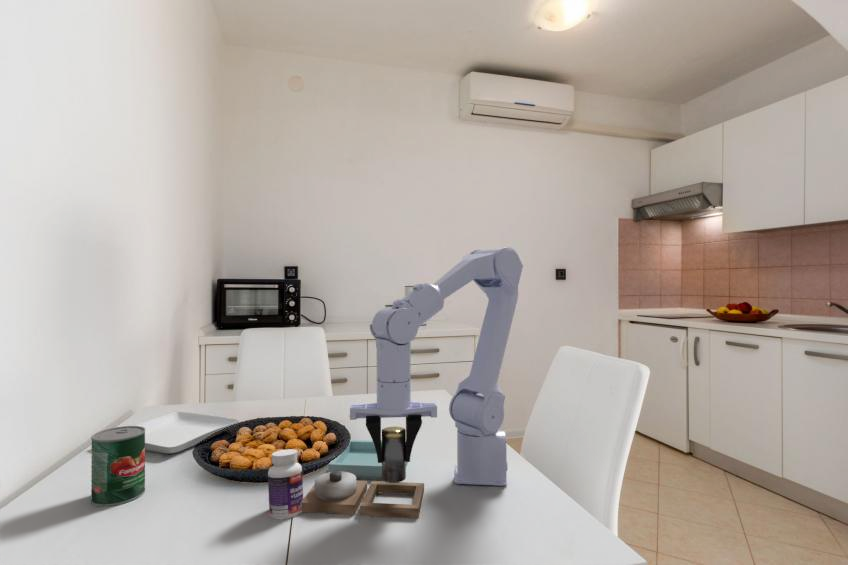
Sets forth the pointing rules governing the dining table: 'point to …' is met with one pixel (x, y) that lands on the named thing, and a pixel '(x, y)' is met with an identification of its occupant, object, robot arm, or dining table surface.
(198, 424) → the salad plate
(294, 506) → the pill bottle
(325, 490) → the block
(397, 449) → the tin can
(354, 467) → the tray
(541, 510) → the dining table surface
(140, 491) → the canned tomato
